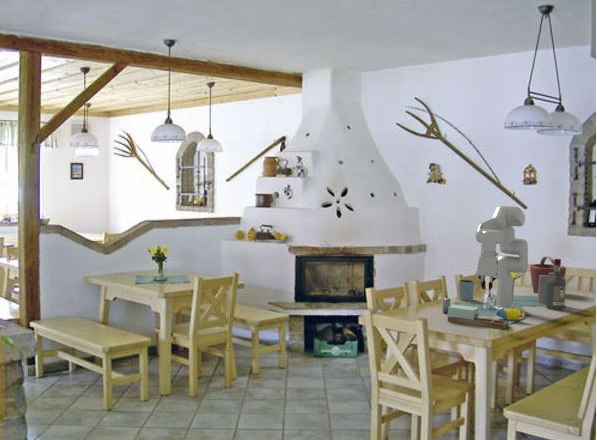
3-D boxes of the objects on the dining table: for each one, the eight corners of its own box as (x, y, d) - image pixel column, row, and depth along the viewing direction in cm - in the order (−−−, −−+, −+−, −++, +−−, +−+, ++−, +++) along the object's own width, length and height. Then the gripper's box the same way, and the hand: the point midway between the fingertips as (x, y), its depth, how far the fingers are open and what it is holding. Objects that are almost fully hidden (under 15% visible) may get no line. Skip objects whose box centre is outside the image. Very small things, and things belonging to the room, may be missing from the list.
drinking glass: (468, 297, 439) (469, 279, 439) (477, 300, 430) (478, 281, 429) (454, 298, 436) (455, 279, 436) (463, 301, 427) (464, 282, 426)
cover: (453, 313, 374) (453, 304, 374) (478, 316, 367) (478, 307, 367) (447, 316, 367) (448, 307, 366) (473, 319, 359) (473, 310, 359)
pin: (444, 312, 392) (444, 298, 391) (450, 312, 390) (451, 299, 389) (441, 313, 389) (442, 299, 388) (448, 314, 386) (449, 300, 386)
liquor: (543, 307, 412) (546, 258, 410) (555, 306, 416) (557, 258, 414) (555, 310, 404) (557, 260, 402) (566, 309, 408) (569, 259, 406)
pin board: (452, 318, 374) (453, 310, 374) (508, 326, 359) (508, 318, 359) (447, 321, 367) (447, 313, 366) (503, 329, 351) (504, 321, 351)
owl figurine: (514, 311, 357) (486, 307, 367) (513, 327, 358) (486, 323, 367) (534, 304, 379) (507, 301, 388) (533, 319, 379) (507, 316, 389)
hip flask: (564, 306, 419) (566, 273, 418) (562, 307, 416) (564, 274, 415) (538, 302, 430) (540, 270, 428) (536, 303, 426) (538, 271, 425)
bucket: (566, 297, 450) (568, 259, 448) (530, 295, 455) (532, 258, 453) (560, 291, 474) (562, 255, 472) (527, 289, 479) (529, 253, 477)
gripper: (505, 255, 357) (504, 289, 358) (475, 252, 366) (473, 286, 367) (502, 256, 351) (500, 291, 352) (470, 253, 359) (469, 288, 360)
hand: (486, 288), depth 359 cm, fingers open, 2 cm apart
